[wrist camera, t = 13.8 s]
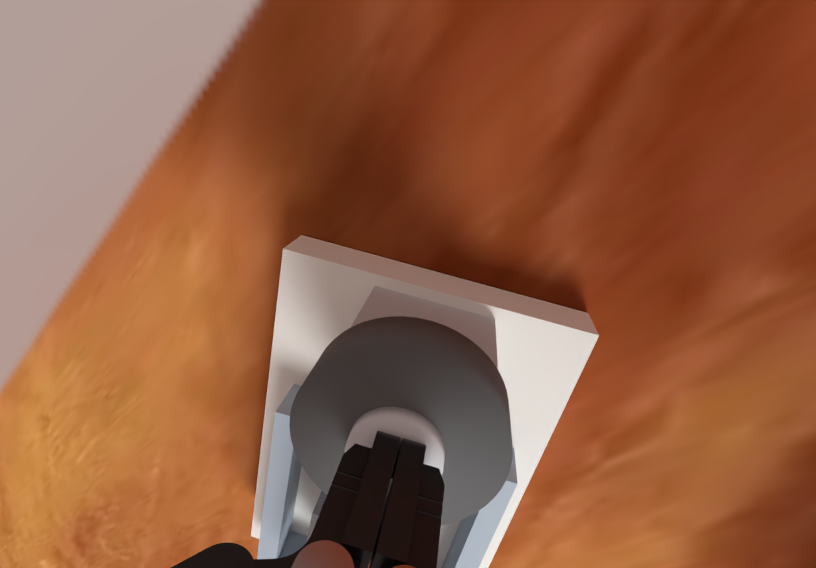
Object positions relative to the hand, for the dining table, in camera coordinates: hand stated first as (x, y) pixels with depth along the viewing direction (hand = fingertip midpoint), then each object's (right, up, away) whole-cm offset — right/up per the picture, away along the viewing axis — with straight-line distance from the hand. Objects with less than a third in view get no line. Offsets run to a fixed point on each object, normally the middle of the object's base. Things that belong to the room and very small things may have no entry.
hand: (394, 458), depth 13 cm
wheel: (+1, +2, +5) cm, 6 cm away
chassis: (0, -2, +10) cm, 10 cm away
